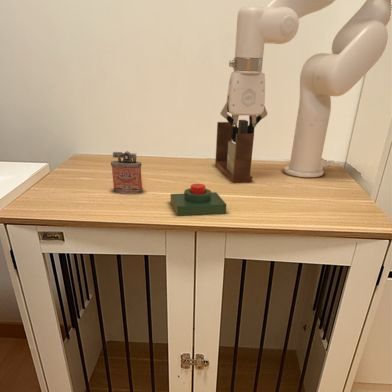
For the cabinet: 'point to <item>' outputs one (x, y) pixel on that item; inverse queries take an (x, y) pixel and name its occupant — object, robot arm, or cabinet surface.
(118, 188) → the lighter
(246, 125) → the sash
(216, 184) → the cabinet surface
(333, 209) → the cabinet surface
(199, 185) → the button
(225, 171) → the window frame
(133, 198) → the cabinet surface
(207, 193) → the alarm box
